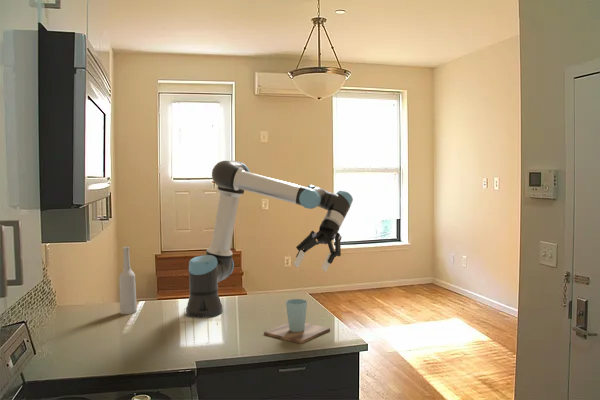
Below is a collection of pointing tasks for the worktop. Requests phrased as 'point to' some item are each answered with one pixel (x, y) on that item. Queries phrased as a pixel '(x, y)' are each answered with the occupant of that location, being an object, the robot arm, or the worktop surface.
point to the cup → (296, 314)
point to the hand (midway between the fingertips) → (309, 267)
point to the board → (297, 333)
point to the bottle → (127, 286)
